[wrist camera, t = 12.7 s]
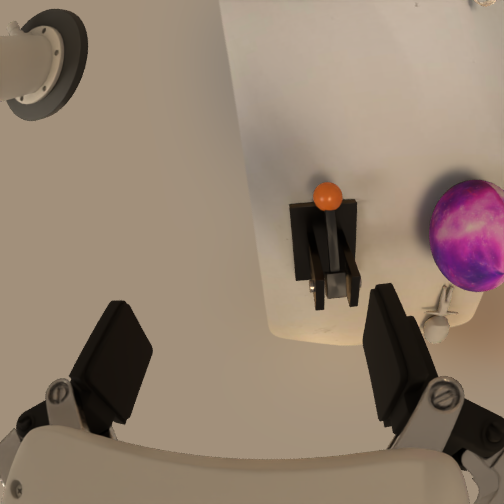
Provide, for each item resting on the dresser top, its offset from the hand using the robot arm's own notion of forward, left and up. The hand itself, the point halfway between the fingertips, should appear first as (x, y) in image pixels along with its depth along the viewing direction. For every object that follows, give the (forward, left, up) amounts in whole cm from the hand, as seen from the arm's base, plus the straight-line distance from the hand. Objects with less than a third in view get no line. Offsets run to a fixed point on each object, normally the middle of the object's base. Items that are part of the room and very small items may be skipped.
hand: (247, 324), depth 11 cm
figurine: (+35, +19, -28) cm, 49 cm away
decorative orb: (+20, +22, -28) cm, 41 cm away
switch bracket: (+15, +1, -28) cm, 32 cm away
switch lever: (+12, +2, -22) cm, 25 cm away
